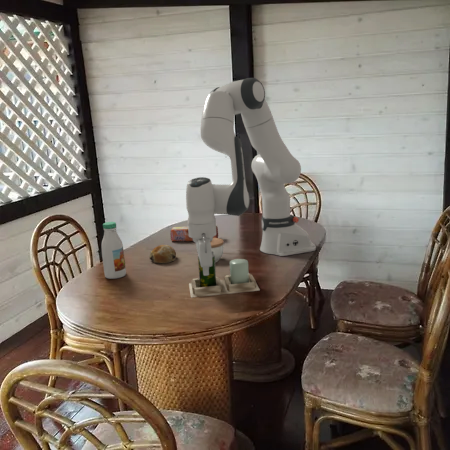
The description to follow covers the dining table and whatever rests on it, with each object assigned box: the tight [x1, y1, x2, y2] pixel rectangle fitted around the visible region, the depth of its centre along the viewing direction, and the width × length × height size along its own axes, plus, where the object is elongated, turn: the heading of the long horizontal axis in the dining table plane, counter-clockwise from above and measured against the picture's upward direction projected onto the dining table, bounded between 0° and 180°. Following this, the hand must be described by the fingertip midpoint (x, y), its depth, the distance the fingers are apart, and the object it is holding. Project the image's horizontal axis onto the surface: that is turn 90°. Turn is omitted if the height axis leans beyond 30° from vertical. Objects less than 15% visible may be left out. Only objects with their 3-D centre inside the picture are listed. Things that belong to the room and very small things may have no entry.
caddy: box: [188, 273, 261, 298], centre depth 155 cm, size 22×12×3 cm, turn 97°
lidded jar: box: [196, 237, 225, 263], centre depth 184 cm, size 11×11×9 cm
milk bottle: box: [101, 221, 127, 280], centre depth 172 cm, size 8×8×20 cm
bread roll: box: [148, 244, 177, 264], centre depth 188 cm, size 10×10×8 cm
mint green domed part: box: [229, 258, 249, 284], centre depth 154 cm, size 6×6×8 cm
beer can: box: [197, 252, 217, 287], centre depth 153 cm, size 5×5×12 cm
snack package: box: [170, 225, 219, 242], centre depth 213 cm, size 21×7×7 cm, turn 82°
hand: (205, 271), depth 153 cm, fingers closed on beer can, 5 cm apart
